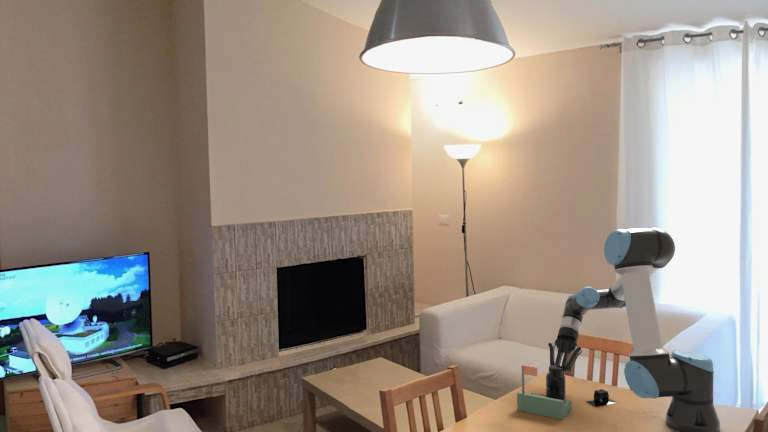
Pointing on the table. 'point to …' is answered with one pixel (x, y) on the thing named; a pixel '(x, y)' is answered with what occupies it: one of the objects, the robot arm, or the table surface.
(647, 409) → the table surface
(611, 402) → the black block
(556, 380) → the supplement bottle
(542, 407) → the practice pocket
